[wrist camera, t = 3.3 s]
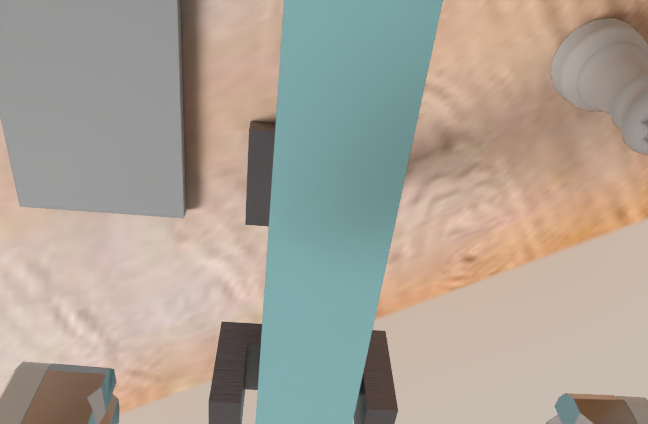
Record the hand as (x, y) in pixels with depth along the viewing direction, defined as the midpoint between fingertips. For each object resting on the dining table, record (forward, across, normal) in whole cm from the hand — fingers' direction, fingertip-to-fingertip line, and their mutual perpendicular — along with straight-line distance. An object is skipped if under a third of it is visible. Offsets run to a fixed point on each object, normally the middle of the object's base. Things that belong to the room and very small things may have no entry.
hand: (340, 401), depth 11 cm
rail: (+8, 0, 0) cm, 8 cm away
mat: (+21, +11, 0) cm, 24 cm away
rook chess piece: (+22, -14, 0) cm, 26 cm away
